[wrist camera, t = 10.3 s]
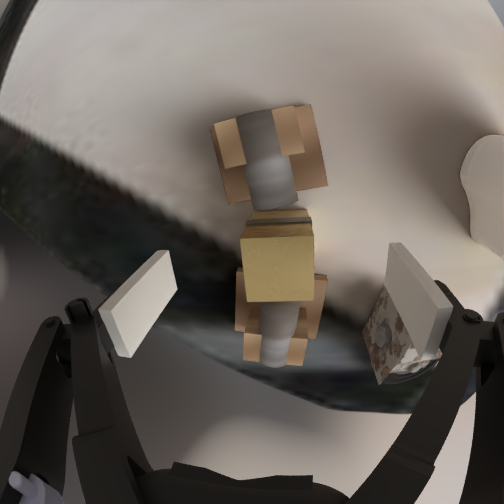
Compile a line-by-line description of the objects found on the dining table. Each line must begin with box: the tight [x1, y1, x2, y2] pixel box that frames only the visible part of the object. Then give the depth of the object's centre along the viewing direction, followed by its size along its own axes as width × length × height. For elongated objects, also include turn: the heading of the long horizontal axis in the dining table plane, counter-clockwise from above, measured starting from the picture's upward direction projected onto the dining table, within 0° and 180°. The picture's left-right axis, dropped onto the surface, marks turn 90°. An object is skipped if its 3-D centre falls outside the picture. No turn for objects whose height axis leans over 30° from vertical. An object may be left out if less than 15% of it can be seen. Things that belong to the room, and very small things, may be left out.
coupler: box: [240, 209, 314, 302], centre depth 20 cm, size 5×5×7 cm
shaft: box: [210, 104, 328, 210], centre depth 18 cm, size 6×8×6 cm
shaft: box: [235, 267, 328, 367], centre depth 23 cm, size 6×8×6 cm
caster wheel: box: [362, 285, 442, 384], centre depth 23 cm, size 7×11×10 cm
